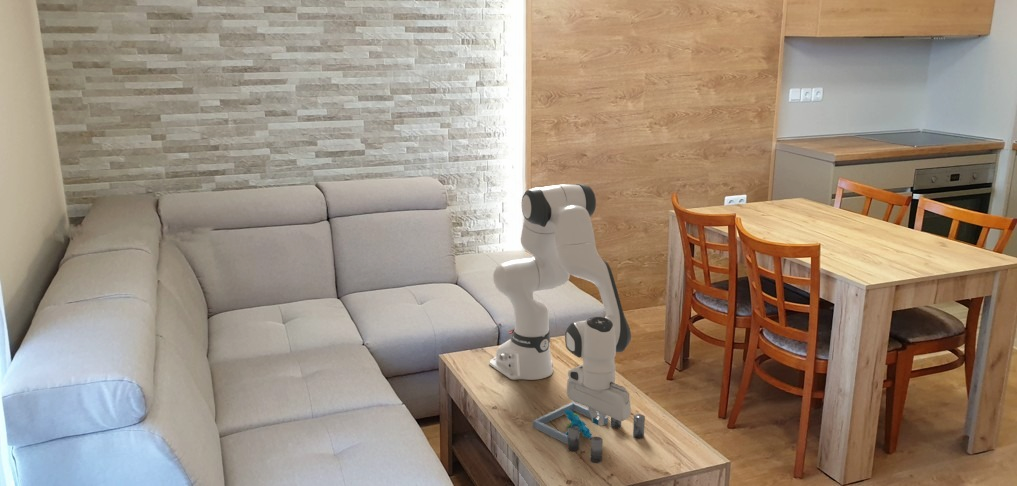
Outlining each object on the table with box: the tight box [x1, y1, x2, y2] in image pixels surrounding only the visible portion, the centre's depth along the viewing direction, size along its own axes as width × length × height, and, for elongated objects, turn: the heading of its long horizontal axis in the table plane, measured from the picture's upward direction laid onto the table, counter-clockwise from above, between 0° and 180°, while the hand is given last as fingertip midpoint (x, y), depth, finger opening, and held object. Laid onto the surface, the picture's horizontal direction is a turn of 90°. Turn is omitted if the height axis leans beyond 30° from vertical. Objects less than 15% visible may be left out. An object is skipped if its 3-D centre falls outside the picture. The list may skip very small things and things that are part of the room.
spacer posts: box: [567, 413, 646, 464], centre depth 212 cm, size 11×21×6 cm, turn 133°
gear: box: [564, 409, 592, 440], centre depth 216 cm, size 11×6×10 cm
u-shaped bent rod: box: [532, 401, 609, 445], centre depth 222 cm, size 14×17×2 cm
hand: (597, 423), depth 214 cm, fingers closed
